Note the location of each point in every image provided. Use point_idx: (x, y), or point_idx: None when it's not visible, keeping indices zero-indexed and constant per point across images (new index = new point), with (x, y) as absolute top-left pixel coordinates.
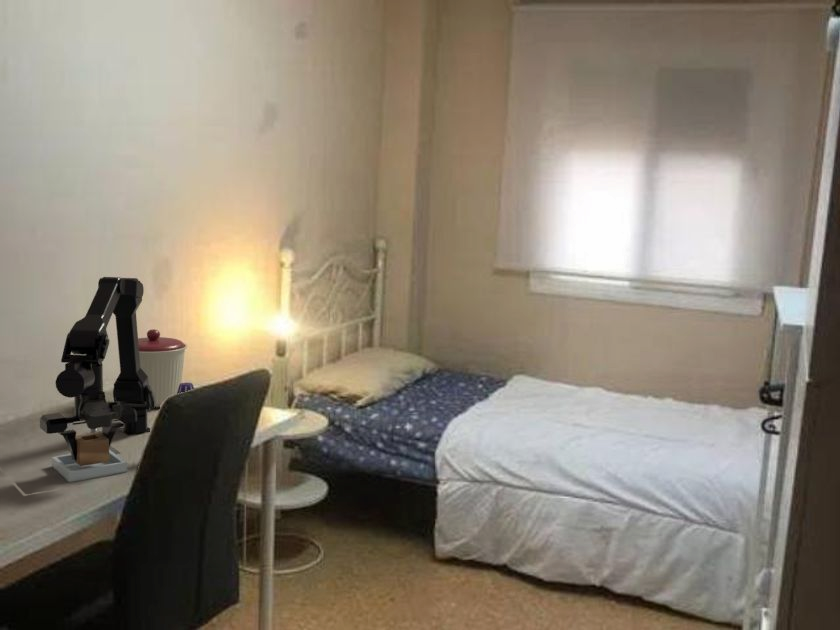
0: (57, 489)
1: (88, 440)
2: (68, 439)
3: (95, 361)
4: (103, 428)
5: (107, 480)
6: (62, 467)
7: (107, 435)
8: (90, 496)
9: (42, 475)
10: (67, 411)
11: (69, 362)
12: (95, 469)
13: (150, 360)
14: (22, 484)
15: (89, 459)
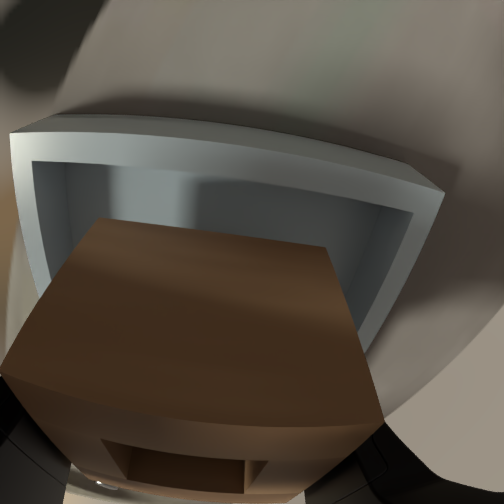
0: (480, 136)
1: (240, 451)
2: (428, 472)
3: None
4: (53, 493)
5: (199, 57)
6: (387, 307)
7: (19, 427)
8: None
9: (388, 337)
10: (130, 498)
11: None
12: (250, 144)
13: None
14: (486, 289)
15: (256, 265)
